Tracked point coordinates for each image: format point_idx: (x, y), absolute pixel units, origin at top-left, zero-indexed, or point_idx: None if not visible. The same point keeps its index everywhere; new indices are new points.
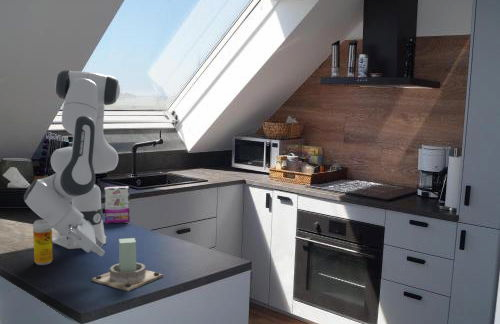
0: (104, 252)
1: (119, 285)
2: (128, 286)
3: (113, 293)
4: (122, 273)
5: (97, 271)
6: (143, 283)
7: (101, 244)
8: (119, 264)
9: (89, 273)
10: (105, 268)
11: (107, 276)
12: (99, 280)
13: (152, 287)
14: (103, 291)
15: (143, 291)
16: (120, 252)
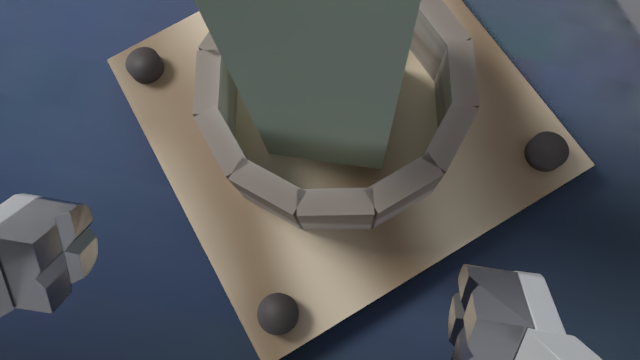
0: (541, 279)
1: (505, 205)
2: (566, 153)
3: (595, 273)
4: (458, 146)
5: None
6: (495, 50)
7: (76, 228)
8: (281, 123)
9: (89, 346)
10: None
11: (274, 242)
12: (336, 320)
13: (558, 18)
14: None
15: (615, 82)
16: (404, 60)
